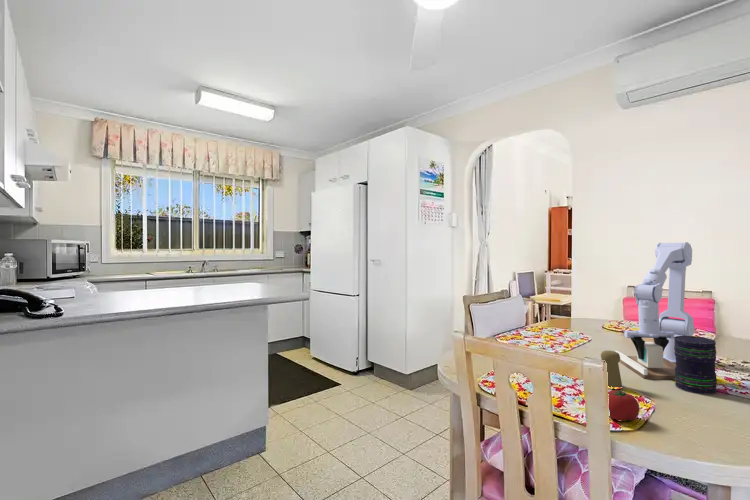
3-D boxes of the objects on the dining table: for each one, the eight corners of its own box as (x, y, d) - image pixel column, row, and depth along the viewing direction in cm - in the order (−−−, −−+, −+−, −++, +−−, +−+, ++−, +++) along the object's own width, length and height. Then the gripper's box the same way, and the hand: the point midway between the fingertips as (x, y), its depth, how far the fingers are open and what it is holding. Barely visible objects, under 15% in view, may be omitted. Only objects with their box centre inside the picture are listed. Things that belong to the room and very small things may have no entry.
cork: (619, 383, 121) (618, 349, 121) (625, 390, 115) (624, 354, 115) (598, 382, 123) (597, 348, 123) (602, 388, 117) (601, 353, 117)
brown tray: (661, 359, 143) (661, 351, 143) (699, 380, 122) (699, 370, 122) (614, 358, 146) (614, 350, 146) (644, 378, 125) (643, 369, 125)
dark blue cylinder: (720, 397, 109) (719, 345, 109) (677, 391, 114) (676, 341, 114) (713, 385, 117) (712, 337, 117) (672, 380, 122) (671, 334, 122)
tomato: (645, 422, 96) (645, 393, 95) (622, 428, 93) (622, 398, 93) (616, 409, 103) (615, 383, 103) (594, 414, 100) (593, 387, 100)
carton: (652, 361, 134) (651, 341, 134) (663, 368, 127) (662, 347, 127) (637, 361, 134) (636, 341, 134) (647, 367, 128) (647, 346, 128)
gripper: (630, 321, 128) (631, 361, 128) (679, 321, 125) (680, 362, 125) (621, 317, 135) (622, 355, 135) (667, 317, 132) (668, 356, 132)
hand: (649, 358), depth 131 cm, fingers closed on carton, 5 cm apart
